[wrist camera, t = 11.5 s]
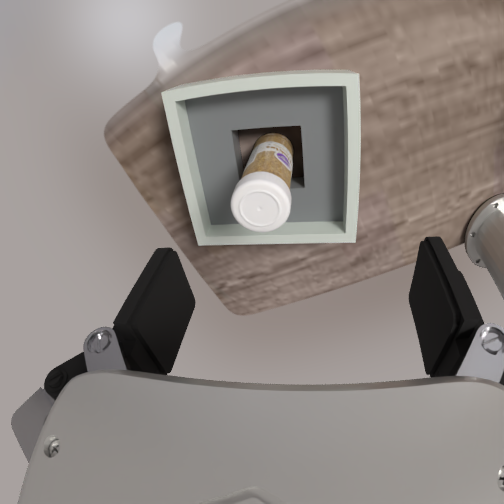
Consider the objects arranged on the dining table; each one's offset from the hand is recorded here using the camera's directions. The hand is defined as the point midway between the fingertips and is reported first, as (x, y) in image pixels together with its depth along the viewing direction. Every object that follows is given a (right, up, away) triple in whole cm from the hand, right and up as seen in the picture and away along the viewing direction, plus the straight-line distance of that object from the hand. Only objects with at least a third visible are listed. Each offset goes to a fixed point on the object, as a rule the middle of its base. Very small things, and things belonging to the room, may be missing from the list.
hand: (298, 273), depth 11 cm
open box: (0, +12, +22) cm, 25 cm away
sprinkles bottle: (+1, +12, +22) cm, 25 cm away
